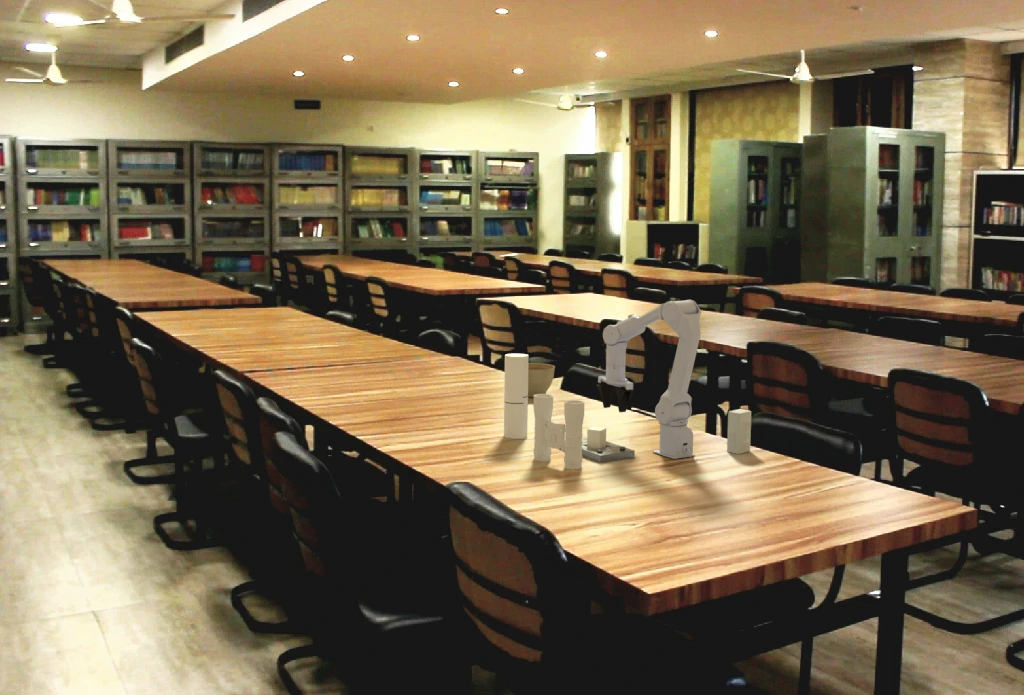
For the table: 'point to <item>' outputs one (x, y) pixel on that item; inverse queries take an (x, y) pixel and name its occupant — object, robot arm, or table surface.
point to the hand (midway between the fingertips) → (614, 409)
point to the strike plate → (606, 452)
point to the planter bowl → (539, 378)
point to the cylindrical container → (516, 396)
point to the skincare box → (739, 431)
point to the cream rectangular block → (596, 437)
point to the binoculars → (558, 431)
